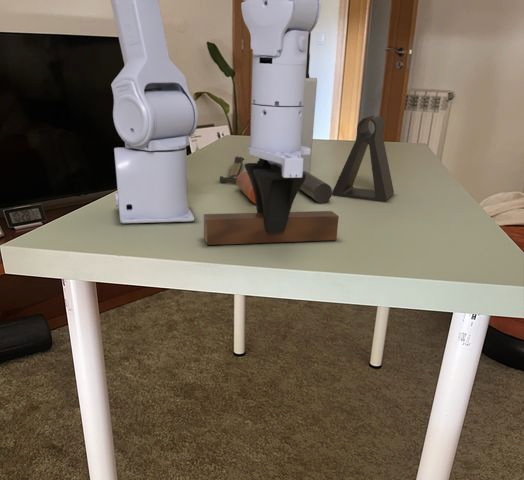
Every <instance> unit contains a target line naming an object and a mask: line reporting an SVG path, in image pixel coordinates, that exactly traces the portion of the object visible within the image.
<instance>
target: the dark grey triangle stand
mask: <svg viewBox="0 0 524 480" xmlns="http://www.w3.org/2000/svg"><path fill="white" fill-rule="evenodd" d="M370 121H371V122H372V124H373V125H374V130H373V132H372V131H370V128H369V123H370ZM385 127H386V122H385V119H384V118H383V117H382V116H381V115H378V116H375V115H371V116H367V117H364V118H362V119H361V120H360V121H359V122H358V123H357V127H356V131H357V132H356V138H355V141H354V143H353V146H352V147H351V150H350V152H349V155H348V157H347V159H346V161H345V163H344V166H343V168H342V170H341V172H340V175H339V177H338V179H337V181H336V183H335V185H334V187H333V190H332V196H335V197H336V196H338V197H345V198H353V199H360V200H368V201H369V200H370V201H376V202H384V203H385V202H387V200H388V199H390V198H391V197H392V196H393V195H394V193H395V190H394V186H393V179H392V176H391V175H392V174H391V171H390V165H389V160H388V155H387V149H386V145H385V141H384V131H385ZM368 146H369V155H370V164H371V171H372V180H373V189H367V188H361V187H360V188H359V187H354V183H355V181H356V178H357V175H358V173H359V170H360V167H361V165H362V162H363V160H364V157H365V154H366V152H367V148H368Z"/></svg>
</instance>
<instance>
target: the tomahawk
mask: <svg viewBox="0 0 524 480" xmlns="http://www.w3.org/2000/svg"><path fill="white" fill-rule="evenodd" d="M243 161H245V158H244V157H243V156H235V157H234V161H233V164H232V167H231V170H230V174H229V176H227V177H224V176H223V175H222V176H221V175H220V176H219V182H223V183H224V182H229V183H230V182H231V183H235V184H236V179H237V176H238V175H239V174H240V170H241V168H242V166H243V165H242V164H243Z"/></svg>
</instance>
